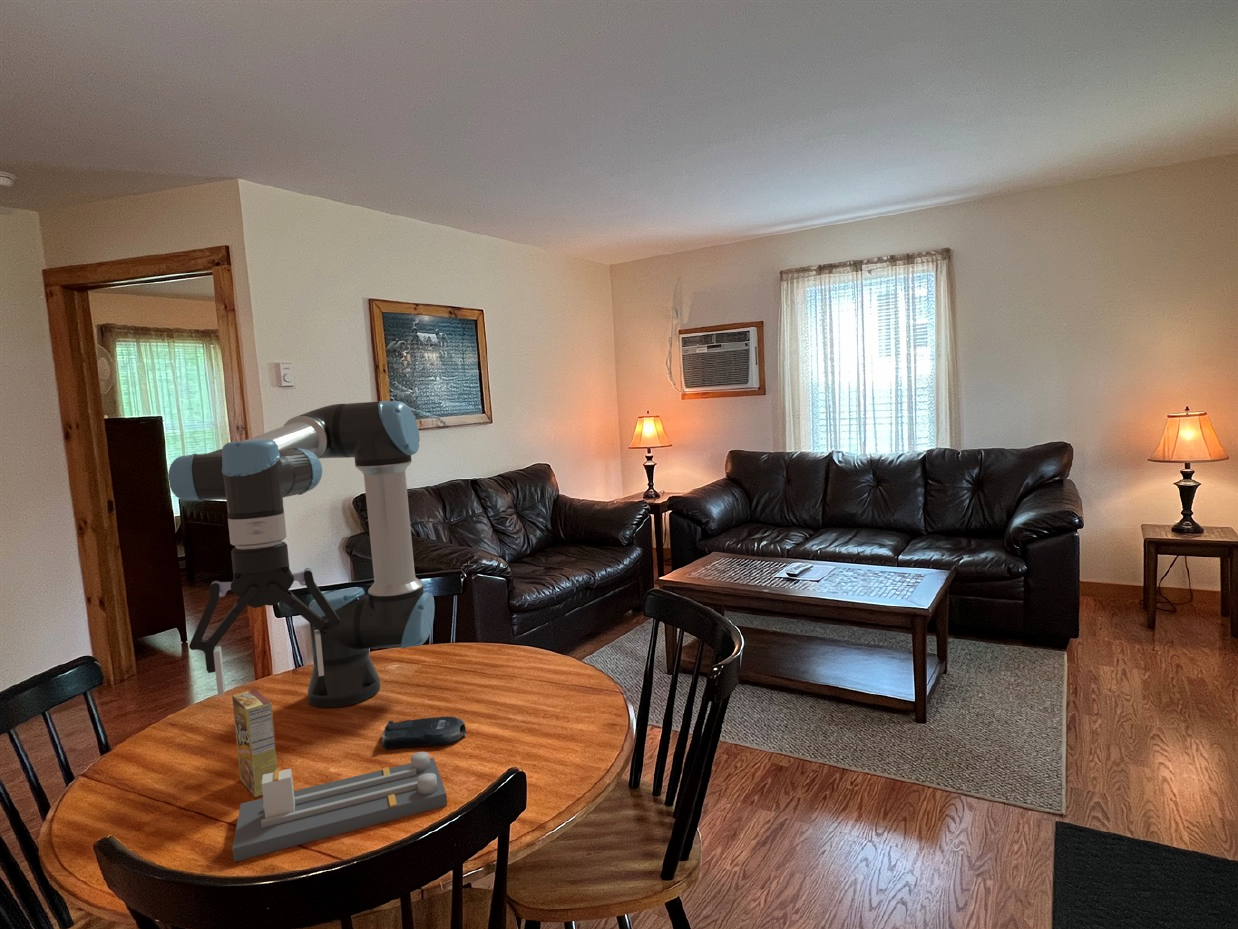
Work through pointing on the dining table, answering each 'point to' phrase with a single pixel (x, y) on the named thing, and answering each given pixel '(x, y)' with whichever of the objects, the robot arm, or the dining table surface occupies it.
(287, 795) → the fader tab
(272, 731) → the candy box
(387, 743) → the electronic device
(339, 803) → the console board
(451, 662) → the dining table surface
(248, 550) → the robot arm
